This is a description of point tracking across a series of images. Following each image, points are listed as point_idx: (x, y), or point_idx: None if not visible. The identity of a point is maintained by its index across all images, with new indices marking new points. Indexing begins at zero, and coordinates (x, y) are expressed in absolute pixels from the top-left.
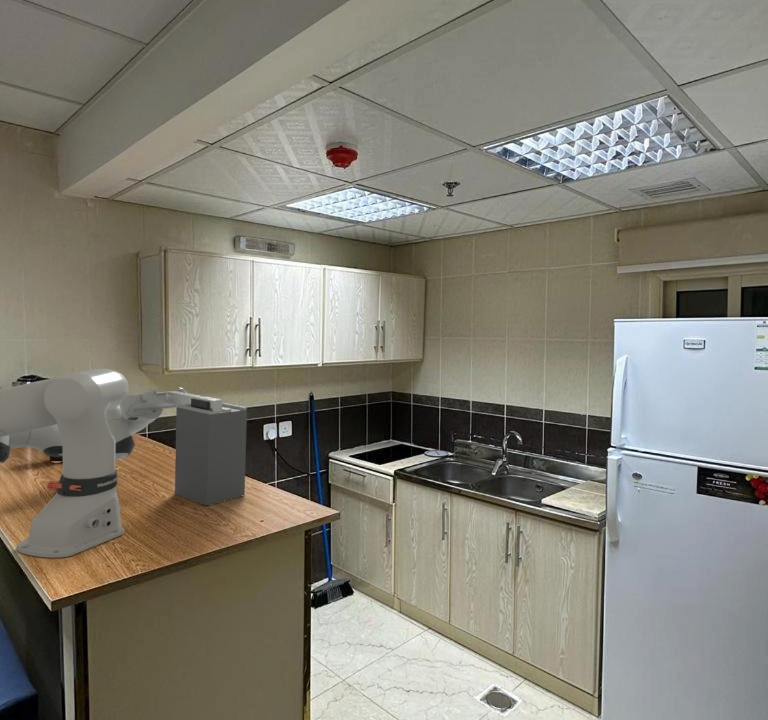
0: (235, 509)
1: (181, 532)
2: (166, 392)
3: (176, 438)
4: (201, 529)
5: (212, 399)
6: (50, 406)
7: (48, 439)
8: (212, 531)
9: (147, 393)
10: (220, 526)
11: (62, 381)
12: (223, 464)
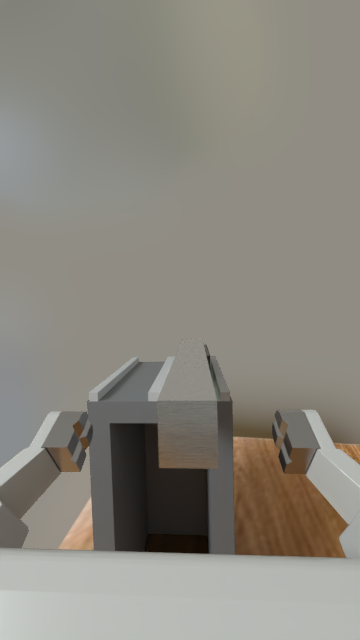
0: None
1: (288, 477)
2: (216, 405)
3: (233, 500)
4: (264, 470)
5: (195, 340)
6: None
7: None
8: (255, 461)
9: (346, 463)
10: (241, 464)
11: None
12: None
